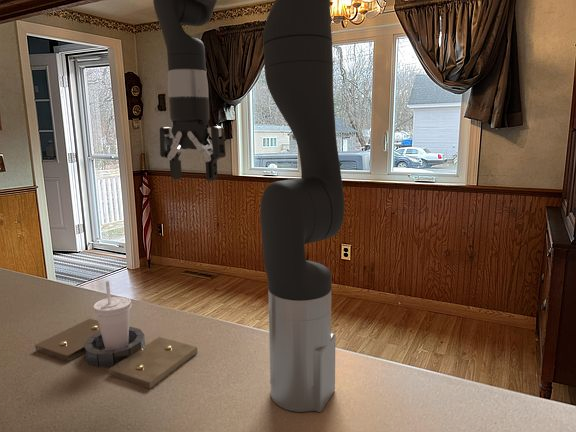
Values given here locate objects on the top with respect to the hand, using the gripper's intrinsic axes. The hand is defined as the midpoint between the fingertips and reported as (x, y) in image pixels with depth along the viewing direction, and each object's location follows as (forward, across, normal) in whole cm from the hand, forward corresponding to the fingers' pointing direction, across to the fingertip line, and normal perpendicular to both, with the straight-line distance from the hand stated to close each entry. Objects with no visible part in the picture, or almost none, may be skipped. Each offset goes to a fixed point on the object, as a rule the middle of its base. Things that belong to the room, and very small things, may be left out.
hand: (193, 179), depth 85 cm
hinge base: (+30, +6, +18) cm, 36 cm away
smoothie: (+30, +6, +18) cm, 36 cm away
